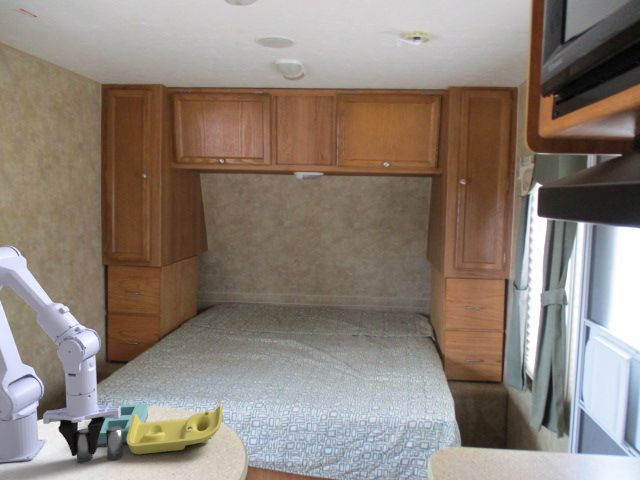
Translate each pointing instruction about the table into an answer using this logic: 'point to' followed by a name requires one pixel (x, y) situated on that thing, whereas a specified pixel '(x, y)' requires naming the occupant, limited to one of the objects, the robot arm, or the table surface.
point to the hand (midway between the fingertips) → (84, 452)
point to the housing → (123, 421)
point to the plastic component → (172, 432)
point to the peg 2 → (114, 443)
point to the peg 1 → (83, 446)
